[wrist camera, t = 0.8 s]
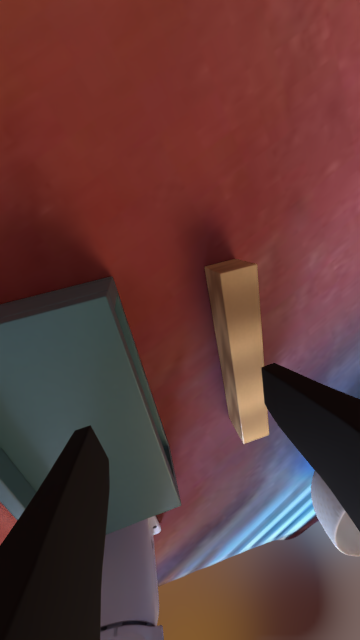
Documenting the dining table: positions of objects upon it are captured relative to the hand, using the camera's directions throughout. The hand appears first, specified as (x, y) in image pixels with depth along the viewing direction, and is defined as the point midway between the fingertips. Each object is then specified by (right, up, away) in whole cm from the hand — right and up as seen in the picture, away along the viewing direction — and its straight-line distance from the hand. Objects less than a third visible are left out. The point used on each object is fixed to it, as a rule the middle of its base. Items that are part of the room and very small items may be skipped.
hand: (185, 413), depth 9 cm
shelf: (-7, -2, +10) cm, 12 cm away
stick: (+5, +1, +11) cm, 12 cm away
